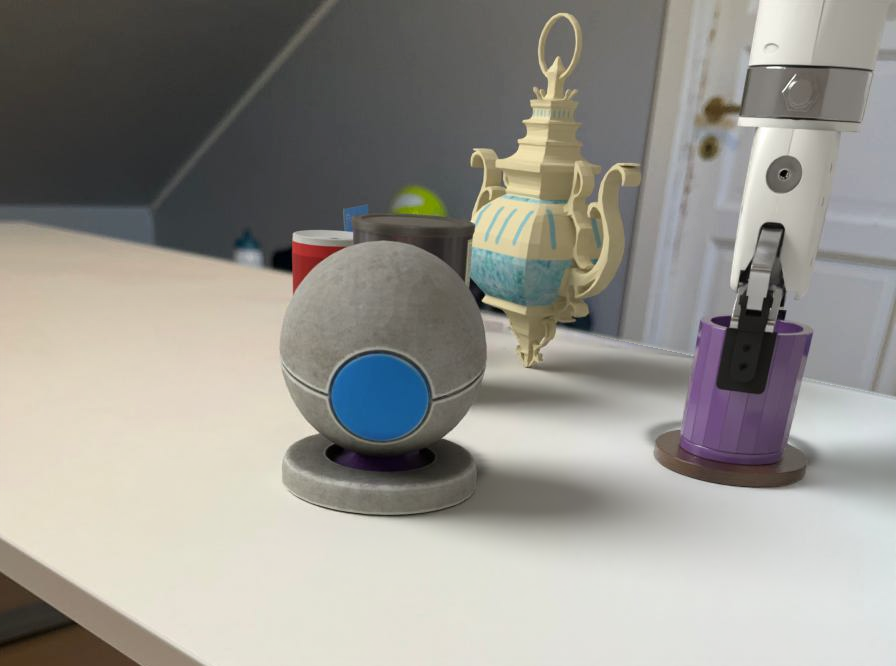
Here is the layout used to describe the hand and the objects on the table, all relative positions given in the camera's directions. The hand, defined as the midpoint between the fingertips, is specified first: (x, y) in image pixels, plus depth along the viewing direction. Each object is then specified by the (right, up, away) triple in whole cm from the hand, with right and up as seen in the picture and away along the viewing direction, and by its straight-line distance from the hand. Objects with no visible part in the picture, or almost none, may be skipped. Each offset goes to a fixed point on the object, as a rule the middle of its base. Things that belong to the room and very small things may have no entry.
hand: (746, 376), depth 70 cm
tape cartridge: (-29, +18, +45) cm, 57 cm away
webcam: (-26, -9, -4) cm, 28 cm away
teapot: (-13, +8, +28) cm, 32 cm away
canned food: (-33, +11, +31) cm, 46 cm away
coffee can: (-25, +3, +18) cm, 31 cm away
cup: (0, -5, +3) cm, 5 cm away
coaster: (0, -6, +3) cm, 6 cm away
